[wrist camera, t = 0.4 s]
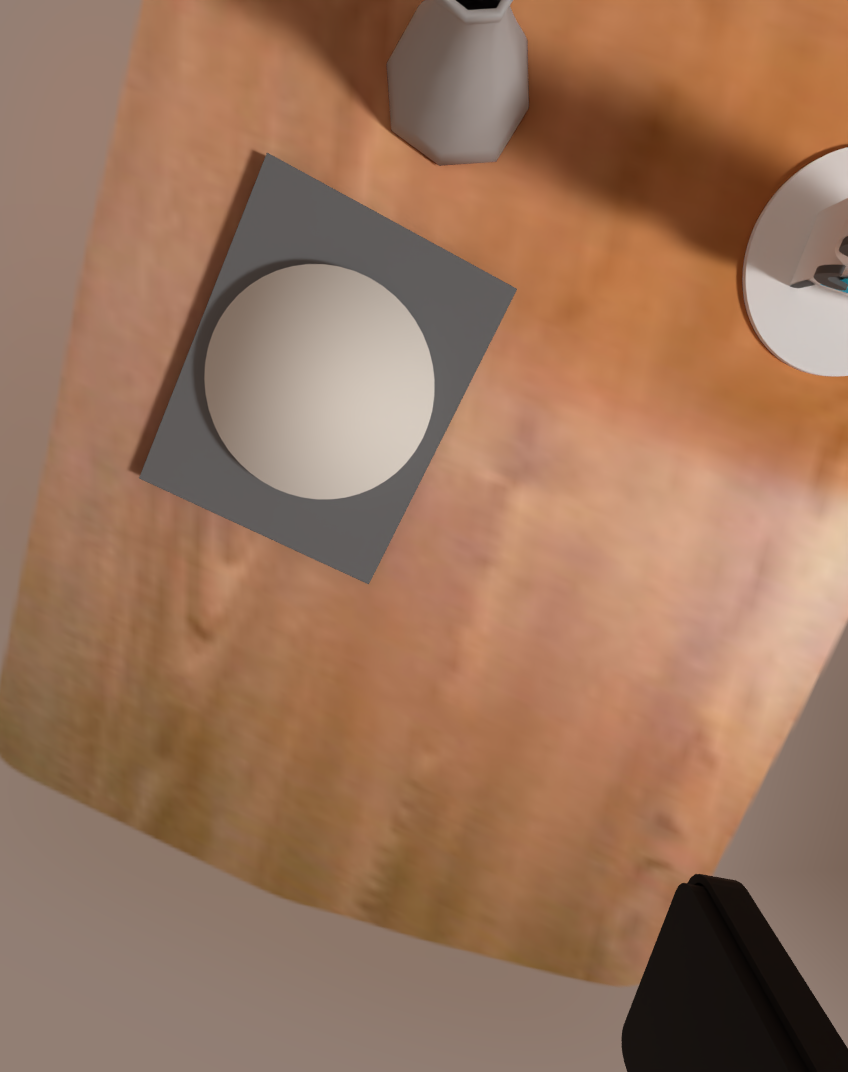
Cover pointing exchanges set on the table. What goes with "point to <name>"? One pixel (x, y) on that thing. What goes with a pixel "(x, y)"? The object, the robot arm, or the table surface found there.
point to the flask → (459, 80)
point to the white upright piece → (803, 269)
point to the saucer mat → (323, 372)
